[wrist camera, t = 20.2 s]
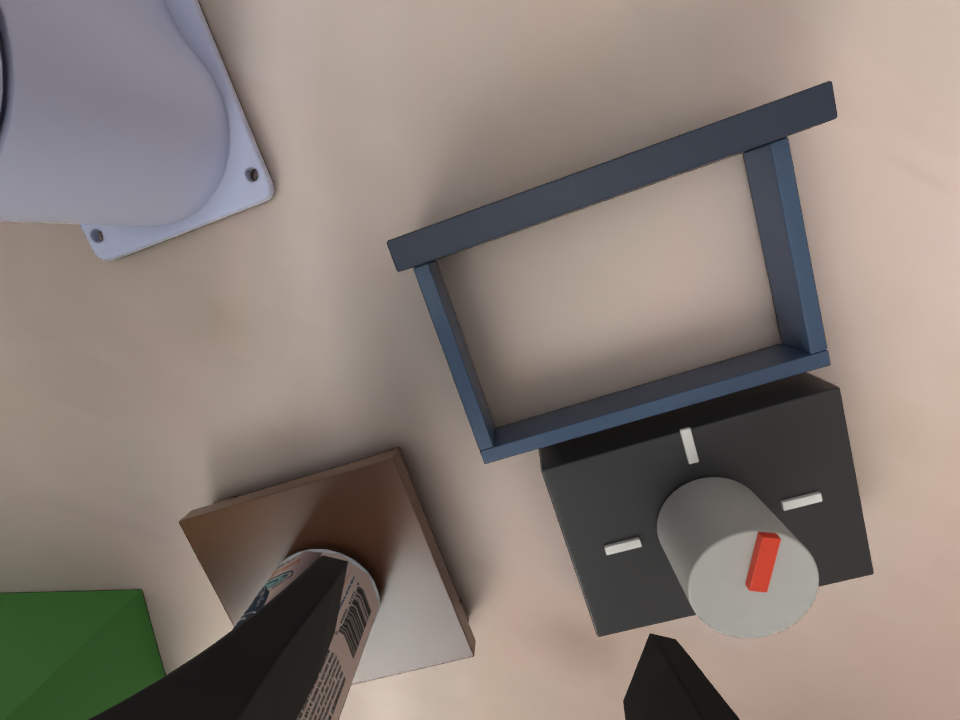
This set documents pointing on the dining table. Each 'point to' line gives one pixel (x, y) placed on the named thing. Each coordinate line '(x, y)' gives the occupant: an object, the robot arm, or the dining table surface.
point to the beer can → (349, 634)
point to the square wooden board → (355, 533)
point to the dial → (736, 559)
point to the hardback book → (73, 653)
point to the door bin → (744, 132)
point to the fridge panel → (694, 455)
